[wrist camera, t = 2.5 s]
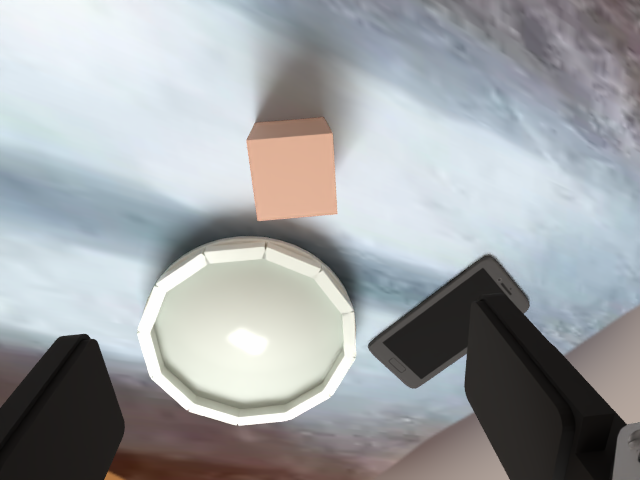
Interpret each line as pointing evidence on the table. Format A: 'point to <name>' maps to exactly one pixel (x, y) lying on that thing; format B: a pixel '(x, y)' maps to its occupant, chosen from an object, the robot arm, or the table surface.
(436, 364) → the cell phone
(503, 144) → the table surface
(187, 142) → the table surface
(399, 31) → the table surface
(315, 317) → the dish
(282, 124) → the block
